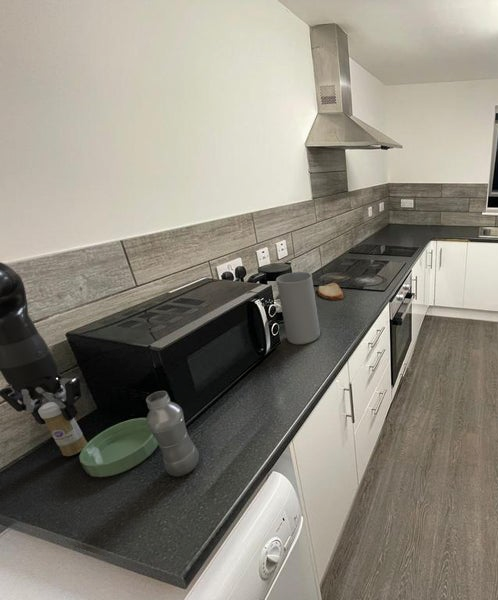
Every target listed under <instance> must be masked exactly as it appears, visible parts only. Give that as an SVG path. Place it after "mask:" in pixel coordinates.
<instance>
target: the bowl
mask: <svg viewBox="0 0 498 600" xmlns="http://www.w3.org/2000/svg"><path fill="white" fill-rule="evenodd" d="M146 418H147V417H137V418H132V419H128V420H125V421H122V422H119V423H117V424H115V425H112V426H109V427H108V428H107V429H105V430H103V431H101V432H100V433H98V434H97V435H95V436H94V437H93V438H92V439H90V440H89V441H87V442H88V443H87V445H86V446H85V447H84V448H83V449H82V451H81V452H79V453H80V454H79V457H78V458H79V461H80V464H81V466H82V467H83V469H84V471H85V473H87V474H88V475H89V476H91V477H96V478H97V477H98V478H103V477H111V476H115V475H118V474H121V473H124V472H127V471H129V470H131V469H133V468H134V467H136V466H138V465H139V464H141V463H143V461H145V460H146V459H147V458H149V457H150V456H151V455H152V454H153V453H154V451H156V449H157V447H158V446H159V444H158V442H157V441H156V439H155V437H154V436H153V434H152V433H151V432H150V430H149V429H148V427H147V425H146Z"/></svg>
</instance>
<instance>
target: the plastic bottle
mask: <svg viewBox="0 0 498 600" xmlns="http://www.w3.org/2000/svg"><path fill="white" fill-rule="evenodd" d="M145 402H146V404H147V408H148V410H149V411H148V413H147V416H146V417H145V418H146V425H147V427H148V429H149V430H150V432H151V433H152V434H153V436H154V437H155V439H156V441H157V442H158V446H159V449H160V452H161V455H162V459H163V460H162V462H163V467H164V470H165V471H166V472H167V473H168V475H170V476H172V477H184V476H186V475H187V474H189V473H191V472H192V471H193V470H195V468H196V467H197V465H198V463H199V461H200V453H199V450H198V448H197V446H196V445H195V444H194V443H193V441H192V439H191V437H190V435H189V433H188V432H189V431H188V430H187V426H186V421H185V415H184V411H183V408H182V407H181V406H180V405H179V404H178V403H176V402H173V401H171V397H170V396H169V393H168V392H167V391H166V390H159V391H155V392H153V393H151V394H149V395H148V396H147V397H146V399H145Z"/></svg>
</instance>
